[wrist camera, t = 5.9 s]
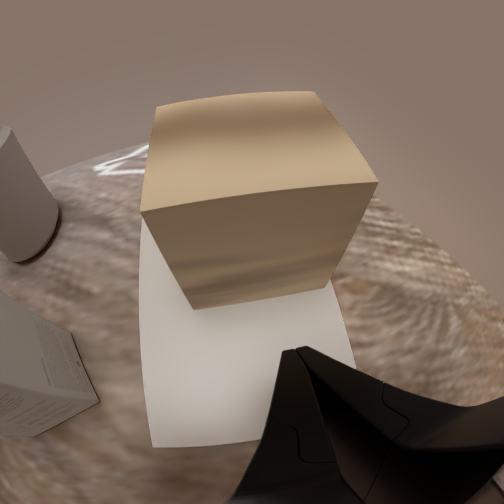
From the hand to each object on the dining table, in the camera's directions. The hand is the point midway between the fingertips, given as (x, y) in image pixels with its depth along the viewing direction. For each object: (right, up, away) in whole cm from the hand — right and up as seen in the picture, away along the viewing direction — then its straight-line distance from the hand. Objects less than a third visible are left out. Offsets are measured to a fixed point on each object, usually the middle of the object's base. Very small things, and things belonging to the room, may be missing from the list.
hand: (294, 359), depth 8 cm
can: (-22, +5, +12) cm, 26 cm away
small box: (-16, -6, +5) cm, 18 cm away
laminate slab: (-2, +1, +9) cm, 9 cm away
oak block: (-1, +4, +9) cm, 10 cm away
